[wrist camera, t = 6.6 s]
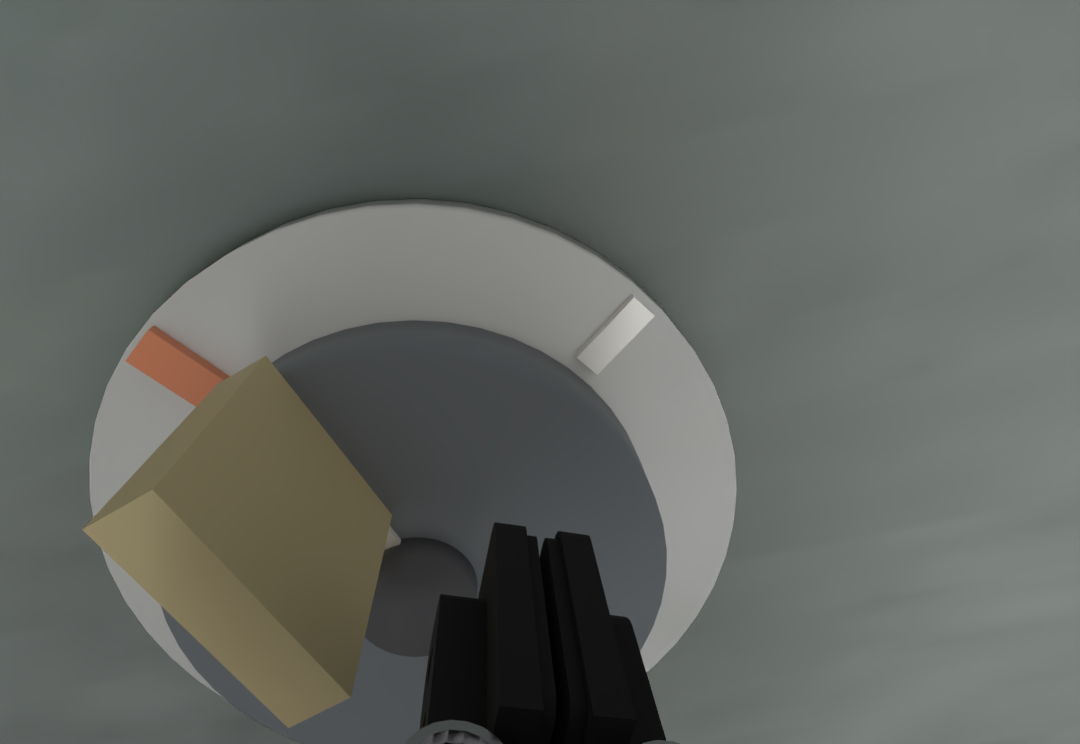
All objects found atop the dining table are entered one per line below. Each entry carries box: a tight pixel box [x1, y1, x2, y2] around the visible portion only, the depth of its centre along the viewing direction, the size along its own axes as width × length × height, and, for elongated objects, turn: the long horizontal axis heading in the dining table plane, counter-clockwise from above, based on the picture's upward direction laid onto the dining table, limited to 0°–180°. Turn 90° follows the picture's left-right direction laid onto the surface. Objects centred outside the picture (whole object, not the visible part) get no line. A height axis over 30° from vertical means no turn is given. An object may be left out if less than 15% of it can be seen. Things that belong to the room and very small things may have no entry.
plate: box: [89, 199, 737, 699], centre depth 19 cm, size 17×17×2 cm
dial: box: [82, 320, 667, 744], centre depth 15 cm, size 12×12×7 cm
